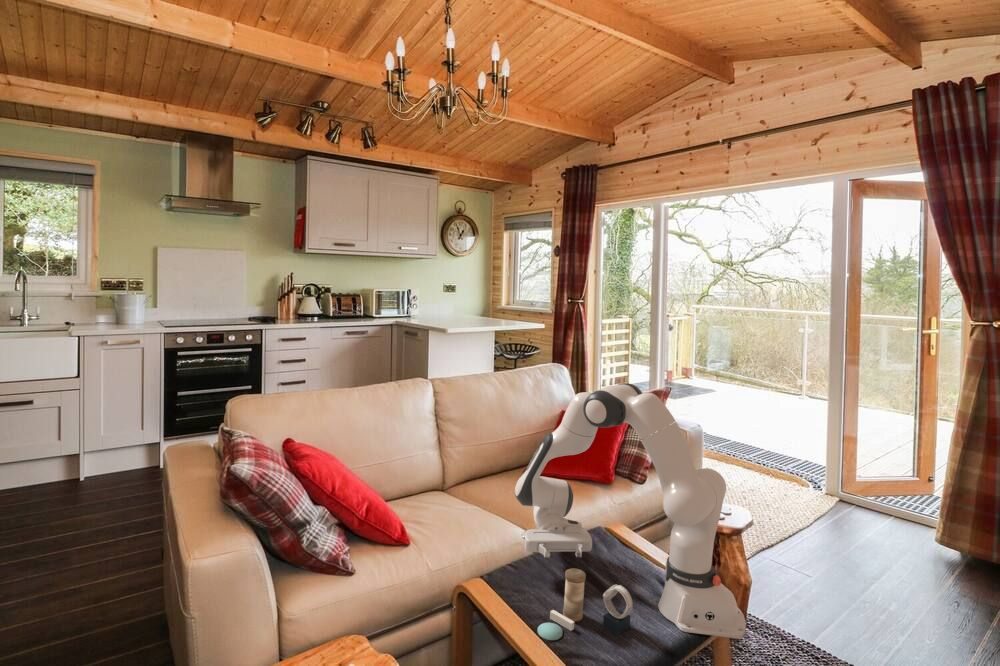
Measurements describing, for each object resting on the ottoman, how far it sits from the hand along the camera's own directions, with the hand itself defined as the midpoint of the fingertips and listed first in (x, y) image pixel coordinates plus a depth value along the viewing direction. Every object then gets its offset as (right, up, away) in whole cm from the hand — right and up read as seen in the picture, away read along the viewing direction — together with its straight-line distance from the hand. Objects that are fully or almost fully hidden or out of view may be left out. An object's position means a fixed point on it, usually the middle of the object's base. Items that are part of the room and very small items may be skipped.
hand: (563, 554), depth 163 cm
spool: (+1, -12, -11) cm, 16 cm away
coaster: (-5, -13, -18) cm, 23 cm away
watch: (+12, -13, -15) cm, 23 cm away
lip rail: (-2, -12, -14) cm, 19 cm away
